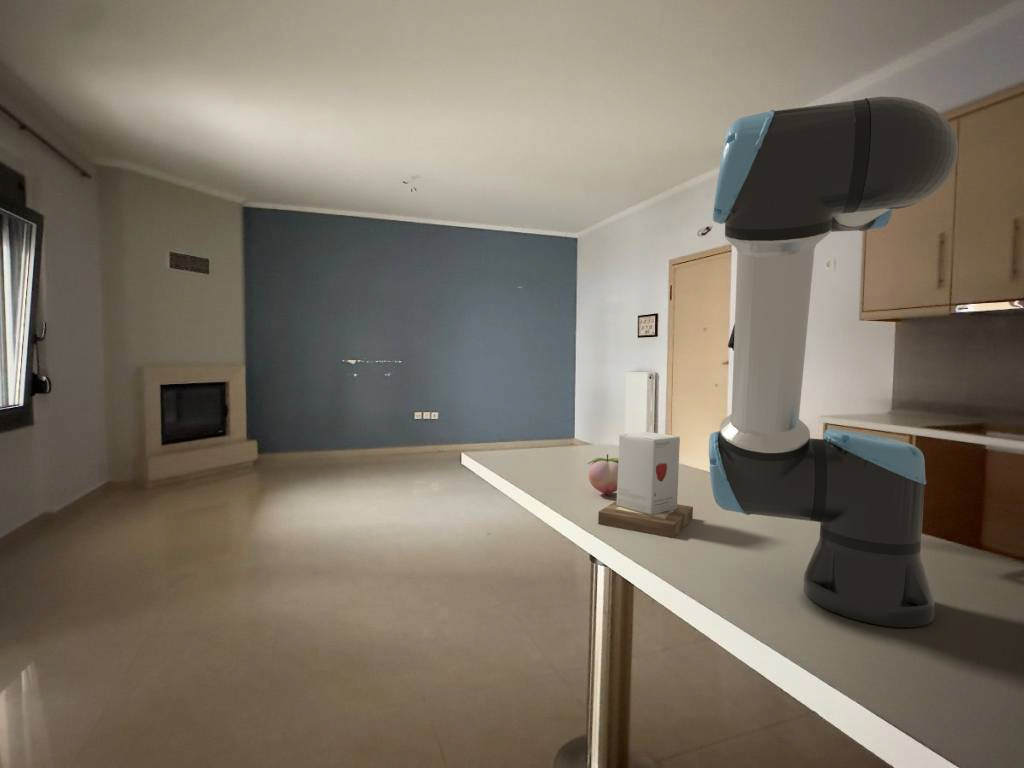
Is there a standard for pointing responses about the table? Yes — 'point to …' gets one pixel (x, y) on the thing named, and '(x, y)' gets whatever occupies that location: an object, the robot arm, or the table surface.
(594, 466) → the decorative fruit
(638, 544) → the table surface
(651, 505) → the supplement box
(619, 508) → the block
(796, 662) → the table surface
